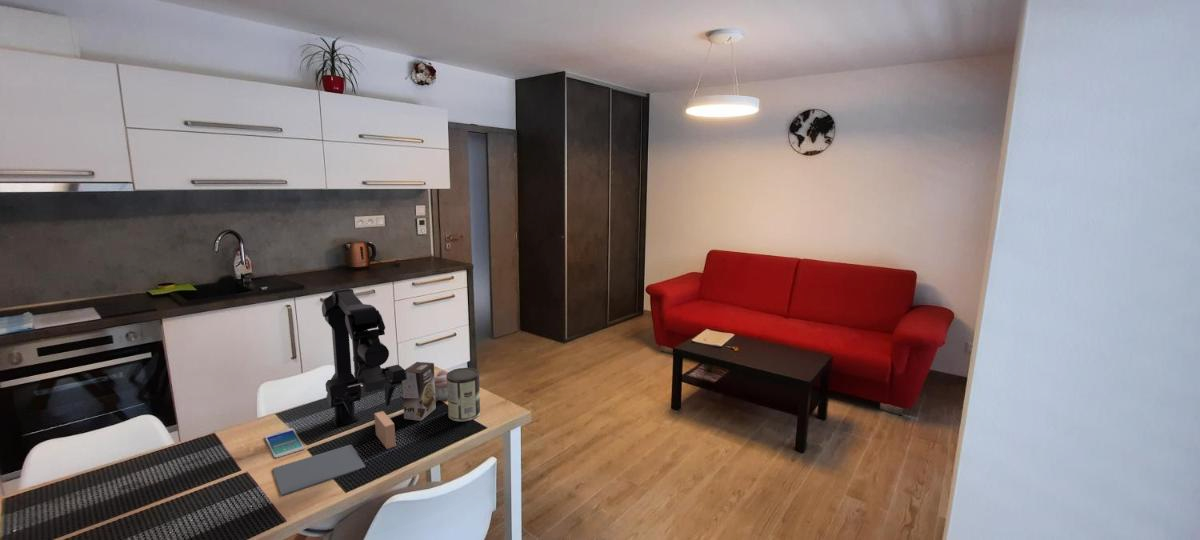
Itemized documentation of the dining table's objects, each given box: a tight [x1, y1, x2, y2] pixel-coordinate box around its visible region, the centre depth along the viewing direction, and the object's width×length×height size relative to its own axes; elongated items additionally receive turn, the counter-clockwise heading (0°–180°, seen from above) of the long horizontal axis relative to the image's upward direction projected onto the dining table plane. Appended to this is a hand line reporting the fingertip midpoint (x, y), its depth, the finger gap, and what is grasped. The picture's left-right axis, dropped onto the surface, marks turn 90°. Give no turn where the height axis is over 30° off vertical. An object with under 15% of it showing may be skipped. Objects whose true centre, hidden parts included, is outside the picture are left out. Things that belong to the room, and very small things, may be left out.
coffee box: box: [401, 361, 437, 422], centre depth 159 cm, size 9×6×16 cm
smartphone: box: [264, 427, 306, 459], centre depth 142 cm, size 8×1×15 cm
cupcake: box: [434, 369, 449, 401], centre depth 173 cm, size 9×9×10 cm
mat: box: [272, 444, 367, 497], centre depth 130 cm, size 14×19×1 cm
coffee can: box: [446, 367, 481, 423], centre depth 160 cm, size 10×10×14 cm
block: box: [374, 410, 397, 450], centre depth 144 cm, size 10×2×7 cm, turn 40°
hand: (369, 410), depth 132 cm, fingers open, 9 cm apart
